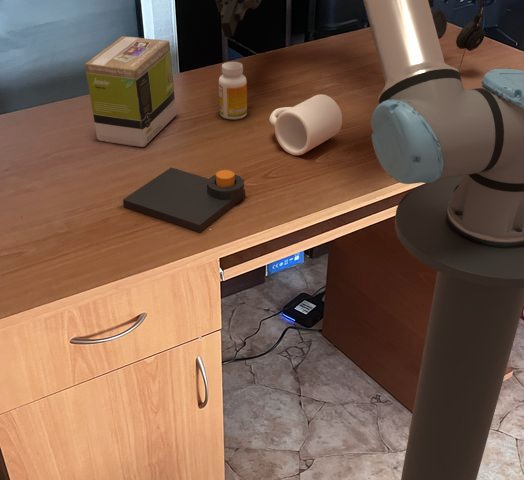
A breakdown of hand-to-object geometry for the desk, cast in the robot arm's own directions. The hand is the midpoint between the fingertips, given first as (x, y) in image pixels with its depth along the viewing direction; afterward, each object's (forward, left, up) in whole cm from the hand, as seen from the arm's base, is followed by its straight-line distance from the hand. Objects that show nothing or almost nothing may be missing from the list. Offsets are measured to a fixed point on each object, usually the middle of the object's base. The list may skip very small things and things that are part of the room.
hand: (227, 29), depth 137 cm
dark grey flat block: (-9, +27, -18) cm, 34 cm away
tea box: (+15, +9, -19) cm, 26 cm away
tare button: (-14, +22, -16) cm, 31 cm away
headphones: (-23, -48, -19) cm, 56 cm away
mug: (-14, -2, -19) cm, 23 cm away
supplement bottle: (+3, -6, -19) cm, 20 cm away
